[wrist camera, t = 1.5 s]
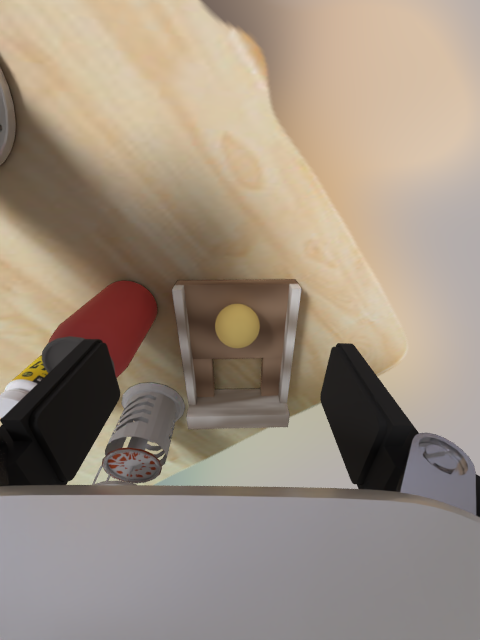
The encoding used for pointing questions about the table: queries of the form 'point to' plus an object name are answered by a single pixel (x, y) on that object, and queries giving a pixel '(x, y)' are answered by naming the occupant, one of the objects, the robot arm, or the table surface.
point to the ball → (237, 325)
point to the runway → (237, 350)
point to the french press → (142, 434)
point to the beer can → (106, 325)
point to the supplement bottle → (21, 385)
